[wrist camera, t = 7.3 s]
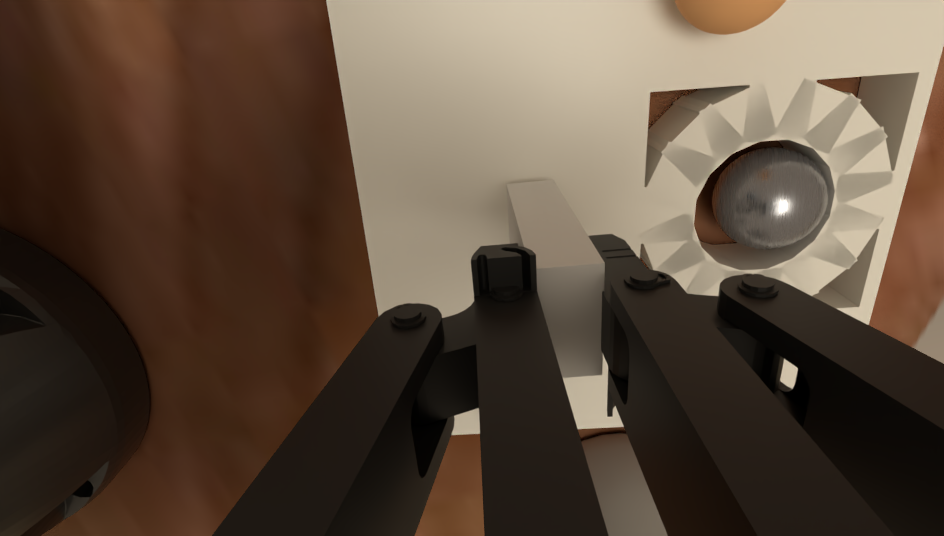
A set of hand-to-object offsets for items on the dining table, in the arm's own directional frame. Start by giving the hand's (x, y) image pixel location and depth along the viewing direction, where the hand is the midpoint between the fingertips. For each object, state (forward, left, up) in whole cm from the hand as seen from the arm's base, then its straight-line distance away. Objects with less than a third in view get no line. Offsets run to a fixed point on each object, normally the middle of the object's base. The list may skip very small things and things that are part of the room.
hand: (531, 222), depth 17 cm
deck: (+3, 0, -3) cm, 5 cm away
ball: (+8, 0, -2) cm, 9 cm away
